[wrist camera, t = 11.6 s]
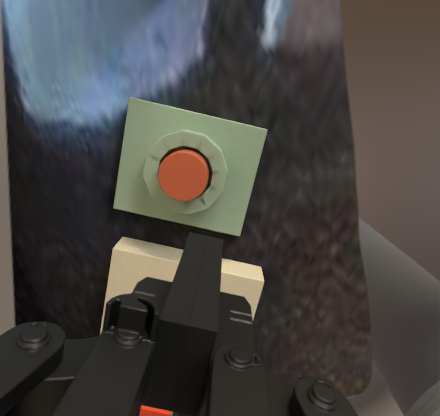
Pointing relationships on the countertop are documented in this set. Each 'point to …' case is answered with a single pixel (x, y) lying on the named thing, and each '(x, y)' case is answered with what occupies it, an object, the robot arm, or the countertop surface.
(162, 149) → the green push button box
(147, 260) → the plate
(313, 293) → the countertop surface
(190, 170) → the bell button
